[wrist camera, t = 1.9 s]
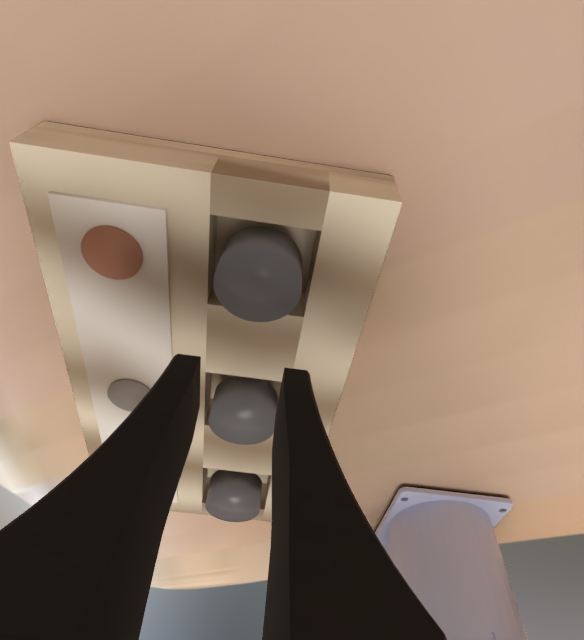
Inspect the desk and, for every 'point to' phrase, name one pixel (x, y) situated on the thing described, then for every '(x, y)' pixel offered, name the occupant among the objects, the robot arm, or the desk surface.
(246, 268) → the button
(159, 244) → the button board
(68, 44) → the desk surface
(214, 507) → the button
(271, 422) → the middle button
